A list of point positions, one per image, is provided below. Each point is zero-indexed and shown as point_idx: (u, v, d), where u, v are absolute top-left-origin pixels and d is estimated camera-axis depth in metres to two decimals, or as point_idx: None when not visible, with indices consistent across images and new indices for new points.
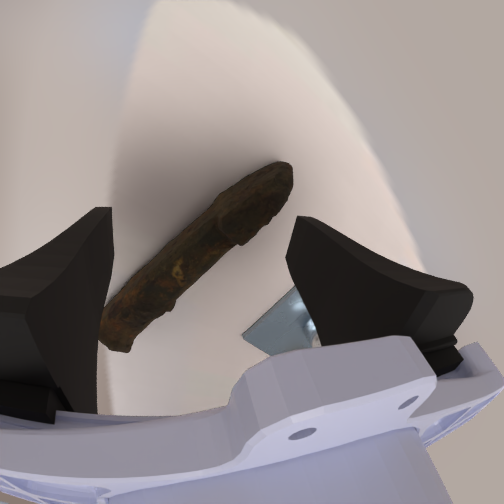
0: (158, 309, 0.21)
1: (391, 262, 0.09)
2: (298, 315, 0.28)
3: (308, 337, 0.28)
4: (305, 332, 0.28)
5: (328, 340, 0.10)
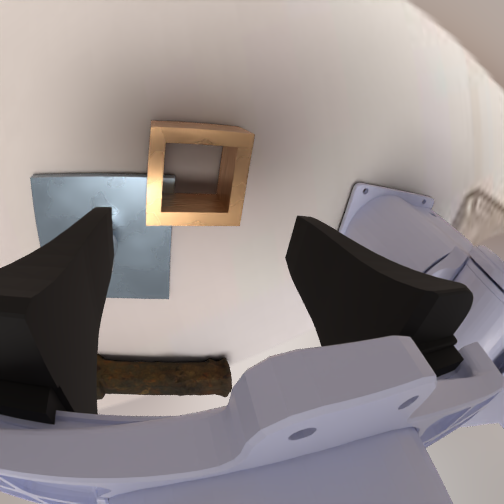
0: (175, 388, 0.27)
1: (391, 262, 0.09)
2: None
3: None
4: None
5: (328, 340, 0.10)
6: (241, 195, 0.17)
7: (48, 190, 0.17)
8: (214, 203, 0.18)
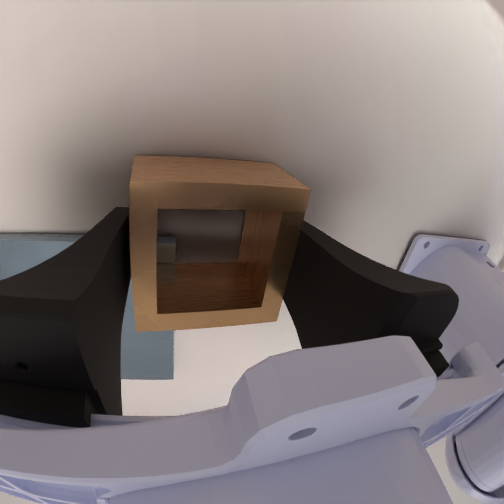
0: None
1: (372, 262, 0.08)
2: None
3: None
4: None
5: (308, 342, 0.10)
6: (283, 281, 0.11)
7: None
8: (238, 285, 0.12)
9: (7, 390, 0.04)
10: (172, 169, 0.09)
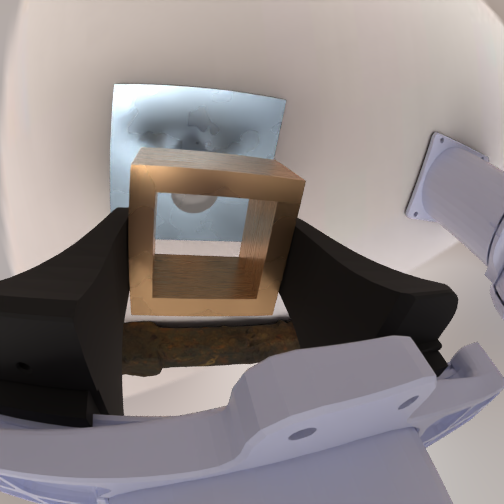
0: (247, 354, 0.25)
1: (371, 262, 0.08)
2: None
3: None
4: None
5: (307, 342, 0.10)
6: (278, 274, 0.11)
7: (135, 100, 0.15)
8: (236, 278, 0.12)
9: (9, 390, 0.04)
10: (173, 158, 0.10)
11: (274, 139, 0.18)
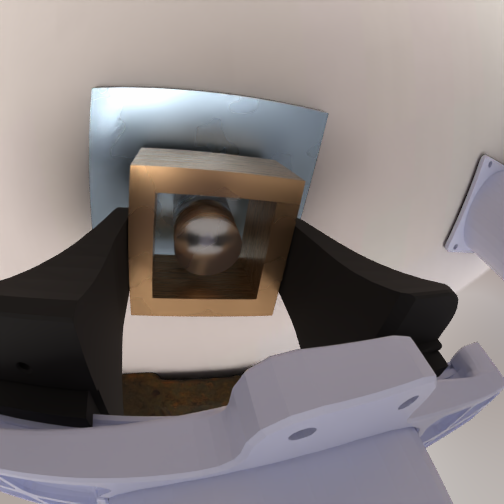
0: None
1: (371, 262, 0.08)
2: None
3: None
4: None
5: (307, 343, 0.10)
6: (278, 274, 0.11)
7: (121, 110, 0.10)
8: (235, 278, 0.12)
9: (9, 390, 0.04)
10: (173, 158, 0.10)
11: (310, 165, 0.14)
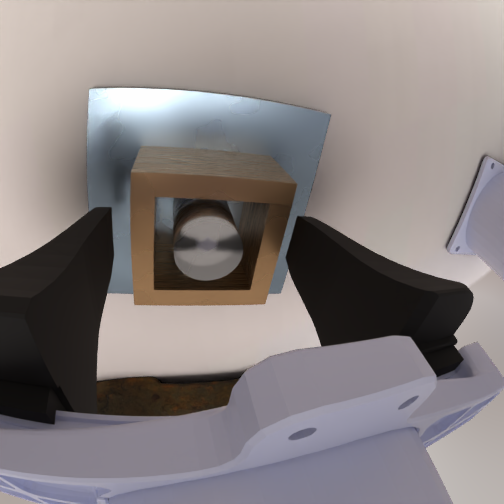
0: None
1: (391, 262, 0.09)
2: None
3: None
4: None
5: (328, 340, 0.10)
6: (271, 267, 0.12)
7: (120, 111, 0.10)
8: None
9: None
10: (172, 161, 0.10)
11: (313, 167, 0.13)
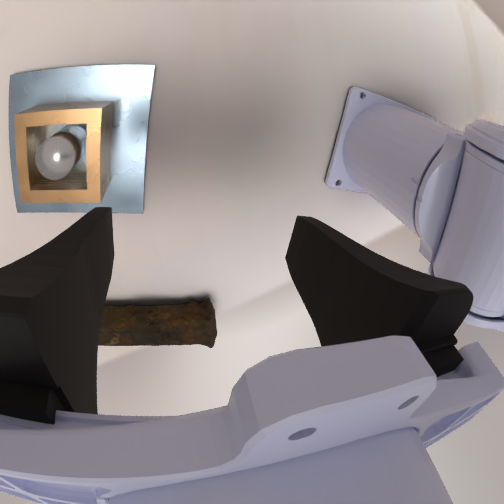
0: (148, 334, 0.23)
1: (391, 262, 0.09)
2: None
3: None
4: (82, 156, 0.16)
5: (328, 340, 0.10)
6: (97, 171, 0.15)
7: (25, 86, 0.13)
8: (85, 180, 0.16)
9: None
10: (42, 108, 0.13)
11: (146, 105, 0.16)
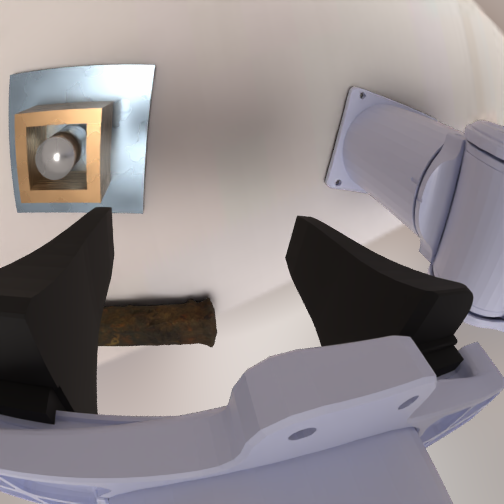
0: (148, 334, 0.23)
1: (391, 262, 0.09)
2: None
3: None
4: (82, 156, 0.16)
5: (328, 340, 0.10)
6: (97, 171, 0.15)
7: (25, 86, 0.13)
8: (85, 180, 0.16)
9: None
10: (42, 108, 0.13)
11: (146, 105, 0.16)
